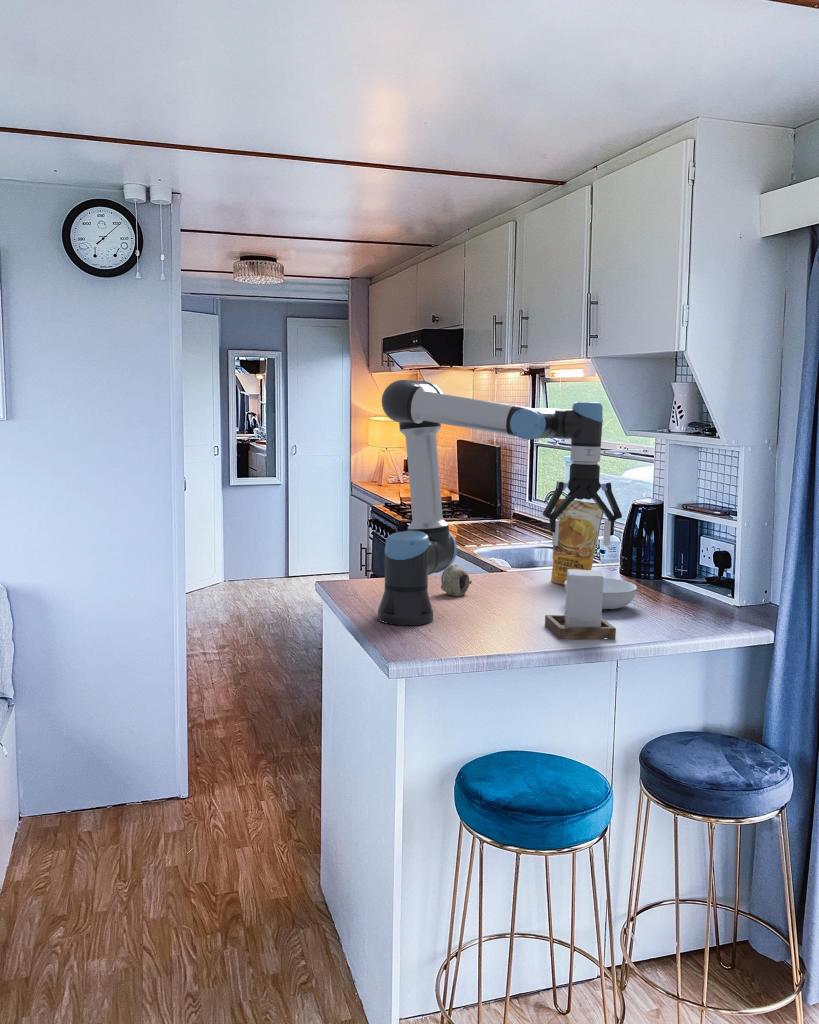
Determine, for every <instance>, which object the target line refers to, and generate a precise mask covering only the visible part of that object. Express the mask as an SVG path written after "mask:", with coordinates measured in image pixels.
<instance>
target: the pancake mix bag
mask: <svg viewBox="0 0 819 1024" xmlns="http://www.w3.org/2000/svg"><path fill="white" fill-rule="evenodd" d="M564 499H565V498H559V500H558V501H557V503H556V505H555V507H554V509H553V511H554V510H555V509H556V508H557V507H558V505H559V504H560V503H561V502H562V501H563V500H564ZM603 516H604V513H603V512H602V510H601V509H600V508H599V506H598V505H597V504H596V502H588V501H582V500H578V499H574V500H573V501H572V502H571V503H570V504H569V505H568V506H567V507H566V509H565V510H564V511H563V512H562V513H561V514H560V515H559V516H558V517H557V520H559V534H558V546H555V545H553V544H552V569H551V578H550V581H552V583H554V584H558V585H560V584H562V585H561V586H564V585H565V584H564V583H565V581H566V580H567V570H568V569H576V570H593V569H592V567H593V563H594V559H595V558H594V557H595V552H596V548H597V543H598V539H599V535H600V531H601V530H600V529H601V524H602V520H603Z"/></svg>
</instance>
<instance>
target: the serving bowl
mask: <svg viewBox="0 0 819 1024" xmlns="http://www.w3.org/2000/svg"><path fill="white" fill-rule="evenodd" d="M566 583H567V580H566V581H565V583H564V584H565V586H564V590H565V591H564V592H566ZM637 589H638V586H637V585H636V584H635V583H633V582H630V581H627V580H622V579H617V578H610V577H609V578H608V577H604V578H603V598H602V609H612V610H614V609H619V608H620V609H621V608H624V607H626V606H627V605H629V604H630V603H631V602H632V601H634V599H635V598H636V594H637Z"/></svg>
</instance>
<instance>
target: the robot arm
mask: <svg viewBox="0 0 819 1024" xmlns="http://www.w3.org/2000/svg"><path fill="white" fill-rule="evenodd" d="M381 408H382V410H383V412H384V414H385V416H387V418H389V419H390V420H392V421H394V422H397V423H398V424H399V425H398V426H399V432H400V433H402V435H404V437H405V447H406V456H407V468H408V479H409V480H408V481H409V492H410V506H411V507H410V508H411V519H412V521H411V523H410V524H409V525H408V526H407V530H403V531H397V532H394V533H392V534H390V535H388V536H386V537H387V538H386V540H385V547H384V591H383V594H382V597H381V600H380V603H379V607H378V609H377V620H378V619H379V620H381V621H384V622H387V623H392V624H391V625H393V624H398V625H397V626H404V625H411V626H419V625H420V626H421V625H427V624H430V623H432V622H433V621H434V609H433V606H432V602H431V599H430V596H429V592H428V587H429V586H428V584H429V583H428V581H429V575H433V574H435V573H436V574H437V573H440V572H442V571H444V570H445V569H446V568H447V567H449V566H450V565H452V564H453V563H454V562H455V559H456V557H457V553H458V545H457V542H456V539H455V538H454V536H452V533H450V526H449V523H448V522H447V521H446V520H445V519H444V517H443V507H442V504H443V503H442V492H441V481H440V468H439V457H438V456H439V455H438V444H437V441H438V440H437V434H438V433H439V431H440V430H441V428H442V426H441V425H448V426H454V427H459V428H466V429H472V430H478V431H484V432H488V433H495V434H501V435H507V436H512V437H517V438H519V439H521V440H527V441H532V440H536V439H537V440H539V439H566V440H567V439H569V440H571V441H570V457H569V459H570V461H571V463H570V464H569V477H568V478H569V480H568V482H564V481H561V480H558V481H556V487H555V490H554V492H553V493H552V496H551V497H550V499H549V501H548V502H547V504H546V506H545V508H544V510H543V512H542V516H543V517H545V518H546V519H549V527H548V530H549V532H550V533H552V541H551V542H552V543H551V545H552V546H553V545H555V546H558V534H559V520H557V517H558V516H559V515H560V514H561V513H562V512H563V511H564V510H565V509H566V507H567V506H568V505H569V504H570V503H571V502H572V501H573V500H578V501H582V500H589V501H591V500H593V502H594V503H596V504H597V505H598V506H599V508H600V509H601V510H602V512H603V515H605V517H606V518H607V519H604V522H603V523H604V525H603V542H602V544H603V546H604V547H610V545H611V534H613V533H614V531H615V522H616V520H618V519H622V517H623V515H622V511H621V510H620V507H619V505H618V503H617V501H616V498H615V496H614V493H613V490H612V483H611V482H608V481H604V482H601V481H600V475H601V474H600V473H601V472H600V471H601V470H600V469H601V465H600V464H598V463H600V462H601V452H602V436H603V422H604V418H603V405H602V403H601V402H596V401H595V402H594V401H575V402H573V404H572V407H571V408H570V409H568V408H567V409H564V408H563V409H561V408H546V407H545V408H544V407H537V408H533V407H528V406H527V407H526V406H522V405H521V406H520V405H513V404H509V403H508V404H507V403H502V402H495V401H488V400H482V399H476V398H468V397H463V396H456V395H452V394H451V395H450V394H446V393H445V394H444V393H443V391H442V390H441V389H440V387H439V386H438V385H436V384H434V383H432V382H429V381H427V380H411V379H399V380H395V381H393V382H391V383H389V385H388V386H386V387H385V389H384V391H383V393H382V395H381ZM600 482H601V483H600ZM566 488H567V489H568V491H569V492H568V493H567V495H566V496H565V497H564V498H563V499H564V500H563V501H562V502H561V503H560V504H559V505H558V507H557V508H556V509H555V510H554V507H555V505H556V503H557V501H558V500H559V499H561V498H560V497H561V495H562V494H563V492H564V491H565V490H566ZM600 489H601V490H602V491H603V492H604V495H605V497H606V499H607V502H608V504H609V506H610V509H611V510H610V509H609V507H608V506H607V505H606V504H605V502H604V501H603V500H602V498H601V496H600V495H599V493H598V492H599V490H600ZM611 511H612V512H611ZM379 620H378V621H379ZM381 621H380V622H381ZM384 622H383V623H384ZM387 623H386V624H387Z"/></svg>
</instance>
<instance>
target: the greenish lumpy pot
mask: <svg viewBox="0 0 819 1024" xmlns="http://www.w3.org/2000/svg"><path fill="white" fill-rule="evenodd" d="M440 582H441V585H440V589H441V591H443V592H445V593H446V594H447V595H448V596H455V597H461V596H464V595H466V593H467V591H468V589H469V587H470V585H471V584H472V583H473V581H472V580H470V576H469V573H468V572H467V570H465V569H464V568H462V567H461V566H459V565H457V564H453V565H452V564H451V565H450V566H449V567H447V568H446V569H444V570H443V572H442V574H441V578H440Z"/></svg>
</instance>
